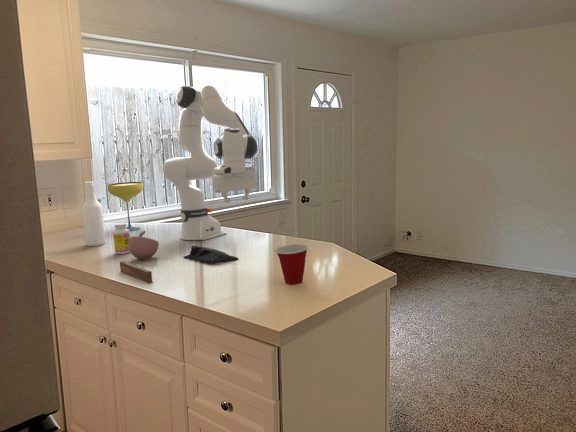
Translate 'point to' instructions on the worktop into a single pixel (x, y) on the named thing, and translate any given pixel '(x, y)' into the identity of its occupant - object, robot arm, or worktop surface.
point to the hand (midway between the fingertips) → (236, 201)
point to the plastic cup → (292, 262)
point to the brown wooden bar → (136, 272)
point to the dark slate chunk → (209, 255)
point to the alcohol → (93, 217)
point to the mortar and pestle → (142, 246)
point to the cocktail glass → (126, 194)
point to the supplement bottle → (121, 238)
